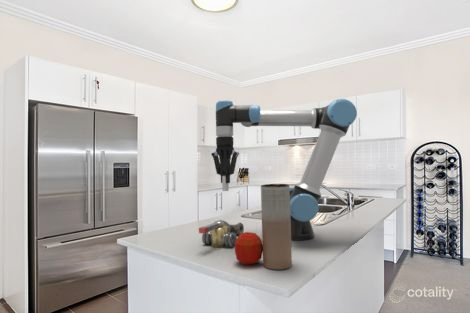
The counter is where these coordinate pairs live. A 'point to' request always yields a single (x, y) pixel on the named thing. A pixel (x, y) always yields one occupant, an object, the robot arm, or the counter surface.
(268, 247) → the vase
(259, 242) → the apple
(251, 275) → the counter surface
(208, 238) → the valve pipe
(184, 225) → the counter surface
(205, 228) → the lever
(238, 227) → the pipe
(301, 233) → the robot arm
